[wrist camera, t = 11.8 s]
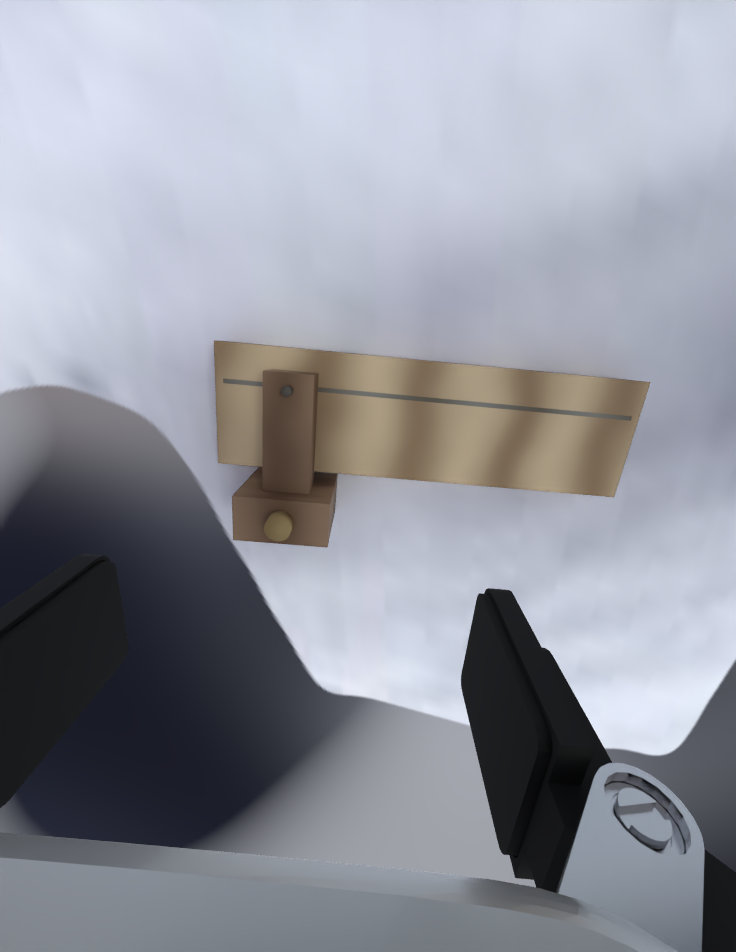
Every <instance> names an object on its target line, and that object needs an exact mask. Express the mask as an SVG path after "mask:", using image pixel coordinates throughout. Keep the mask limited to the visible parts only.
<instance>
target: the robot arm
mask: <svg viewBox="0 0 736 952" xmlns="http://www.w3.org/2000/svg"><path fill="white" fill-rule="evenodd" d="M116 572H117V571H116V567H115V565H114V563H112V562H110V559H109V558H108V557H106V556H100V555H89V554H80V555H78V556H76V557H75V558H73V559H72V560H70V561H69V562H67V563H66V564H64V565H63V566H62V567H60V568H59V569H57V570H56V571H54V572H53V573H52V574H50V575H48V576H47V577H46V578H44V579H43V580H41V581H40V582H39V583H37V584H35V585H34V586H33V587H31V588H30V589H28V590H27V591H25V592H24V593H22V594H21V595H19V596H18V597H17V598H15V599H14V600H12V601H11V602H9V603H8V604H6V605H5V606H3V607H2V608H0V808H1V807H2V806H3V805H5V804H6V803H7V802H8V801H9V800H10V799H11V797H12V796H13V795H14V794H15V793H16V791H17V790H18V789H19V788H20V786H21V785H22V784H23V783H24V781H25V780H26V779H27V778H28V777H29V775H30V774H31V773H32V772H33V771H34V769H35V768H36V767H37V766H38V765H39V763H40V762H41V761H42V759H43V758H44V757H45V756H46V755H47V753H48V752H49V751H50V750H51V749H52V747H53V746H54V745H55V744H56V743H57V741H58V740H59V739H60V738H61V736H62V735H63V734H64V733H65V732H66V730H67V729H68V728H69V727H70V726H71V724H72V723H73V722H74V721H75V719H76V718H77V717H78V716H79V715H80V713H81V712H82V711H83V709H84V708H85V707H86V706H87V705H88V703H89V702H90V701H91V700H92V699H93V697H94V696H95V695H96V694H97V692H98V691H99V690H100V689H101V688H102V686H103V685H104V684H105V683H106V682H107V680H108V679H109V678H110V677H111V676H112V674H113V673H114V672H115V671H116V669H117V668H118V667H119V666H120V665H121V663H122V662H123V661H124V659H125V657H126V655H127V652H128V639H127V633H126V627H125V621H124V615H123V609H122V602H121V596H120V590H119V584H118V578H117V573H116ZM461 687H462V692H463V697H464V701H465V705H466V709H467V714H468V718H469V722H470V726H471V730H472V735H473V739H474V743H475V747H476V752H477V756H478V760H479V764H480V768H481V773H482V777H483V781H484V785H485V789H486V794H487V798H488V802H489V806H490V811H491V815H492V819H493V823H494V827H495V832H496V836H497V840H498V844H499V848H500V850H501V852H502V853H503V854H504V855H510V859H511V862H512V867H513V871H514V875H515V878H522V879H533V880H534V881H535V884H536V888H534V887H529V886H524V885H518V884H513V883H507V882H502V881H496V880H490V879H482V878H474V877H465V876H457V875H449V874H440V873H431V872H423V871H415V870H406V869H398V868H387V867H377V866H366V865H356V864H346V863H335V862H325V861H314V860H304V859H293V858H283V857H272V856H262V855H252V854H239V853H229V852H218V851H206V850H196V849H185V848H173V847H163V846H151V845H140V844H129V843H117V842H105V841H93V840H83V839H82V840H81V839H72V838H59V837H46V836H35V835H23V834H11V833H0V952H736V872H734V871H733V870H732V869H730V868H729V867H727V866H726V865H725V864H723V863H722V862H721V861H719V860H718V859H717V858H715V857H714V856H713V855H711V854H710V853H709V852H707V851H706V850H704V845H703V839H702V835H701V833H700V830H699V828H698V826H697V824H696V822H695V820H694V818H693V817H692V815H691V814H690V813H689V811H688V810H687V808H686V807H685V806H684V804H683V803H682V802H681V801H680V800H679V799H678V798H677V797H676V796H675V795H674V794H673V793H672V792H671V791H670V790H669V789H668V788H667V787H666V786H665V785H663V784H662V783H661V782H659V781H658V780H657V779H655V778H654V777H653V776H651V775H649V774H647V773H646V772H644V771H642V770H640V769H638V768H636V767H633V766H629V765H626V764H622V763H612V761H611V760H610V758H609V756H608V754H607V752H606V751H605V749H604V747H603V745H602V743H601V742H600V740H599V738H598V736H597V734H596V733H595V731H594V729H593V727H592V725H591V724H590V722H589V720H588V718H587V716H586V715H585V713H584V711H583V709H582V707H581V706H580V704H579V702H578V700H577V698H576V697H575V695H574V693H573V691H572V689H571V688H570V686H569V684H568V682H567V681H566V679H565V677H564V675H563V673H562V672H561V670H560V668H559V666H558V664H557V663H556V661H555V659H554V657H553V656H552V654H551V653H550V651H549V650H547V649H546V648H542V647H541V646H540V644H539V642H538V640H537V638H536V636H535V634H534V632H533V631H532V629H531V627H530V625H529V623H528V621H527V619H526V618H525V616H524V614H523V612H522V610H521V608H520V606H519V604H518V603H517V601H516V599H515V597H514V595H513V593H512V592H511V591H510V590H501V589H489V588H488V589H486V591H485V593H484V594H479V595H478V597H477V601H476V606H475V611H474V615H473V620H472V625H471V630H470V635H469V640H468V645H467V650H466V655H465V660H464V664H463V669H462V675H461Z"/></svg>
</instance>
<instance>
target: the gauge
mask: <svg viewBox="0 0 736 952" xmlns="http://www.w3.org/2000/svg"><path fill="white" fill-rule="evenodd" d="M318 377H319V373H310V372H299V371H288V370H277V369H269V370H264V371H263V415H262V468H261V467H259V468H258V469H257V470H256V471H255V472H254V473H253V474H252V475H251V476H250V477H249V478H248V480H247V481H246V482H245V483H244V484H243V485H242V486H241V487H240V488H239V489H238V490H237V491H236V492H235V494H234V495H233V496H232V512H233V540H241V541H253V542H266V543H279V544H291V545H304V546H316V547H328V542H329V537H330V532H331V527H332V522H333V517H334V512H335V502H336V487H337V474H331V473H320V472H314V461H315V440H316V419H317V398H318Z"/></svg>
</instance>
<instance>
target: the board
mask: <svg viewBox="0 0 736 952" xmlns="http://www.w3.org/2000/svg"><path fill="white" fill-rule="evenodd" d="M214 356H215V385H216V414H217V443H218V463H223V464H234V465H246V466H258V467H262V415H263V371H264V370H269V369H277V370H288V371H299V372H310V373H319V377H318V398H317V419H316V440H315V461H314V471H316V472H327V473H339V474H351V475H362V476H374V477H386V478H397V479H409V480H420V481H432V482H444V483H455V484H467V485H478V486H490V487H502V488H513V489H525V490H537V491H548V492H560V493H571V494H583V495H595V496H606V497H614V496H615V492H616V489H617V486H618V483H619V480H620V477H621V474H622V470H623V467H624V464H625V461H626V458H627V455H628V451H629V448H630V445H631V442H632V439H633V436H634V433H635V429H636V426H637V423H638V420H639V417H640V414H641V410H642V407H643V404H644V401H645V398H646V395H647V392H648V388H649V385H650V382H643V381H633V380H624V379H614V378H603V377H593V376H582V375H572V374H562V373H551V372H541V371H530V370H520V369H509V368H499V367H489V366H478V365H468V364H457V363H447V362H436V361H426V360H415V359H405V358H395V357H384V356H374V355H363V354H353V353H342V352H332V351H321V350H311V349H301V348H290V347H280V346H269V345H259V344H248V343H238V342H227V341H214Z"/></svg>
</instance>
